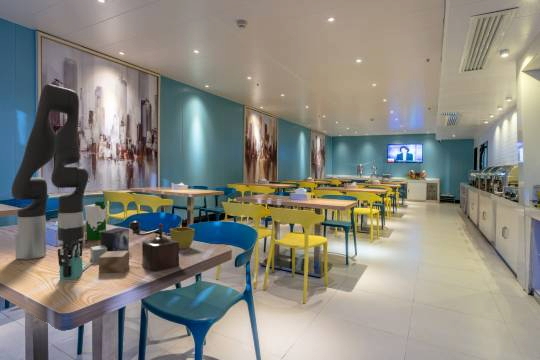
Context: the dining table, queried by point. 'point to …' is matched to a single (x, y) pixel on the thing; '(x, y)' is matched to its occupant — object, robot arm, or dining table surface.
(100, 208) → the milk carton
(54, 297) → the dining table surface
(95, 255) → the grey block
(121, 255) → the walnut base
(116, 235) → the small box
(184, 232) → the flower pot
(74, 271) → the teal block
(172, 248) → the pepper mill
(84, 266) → the tile
